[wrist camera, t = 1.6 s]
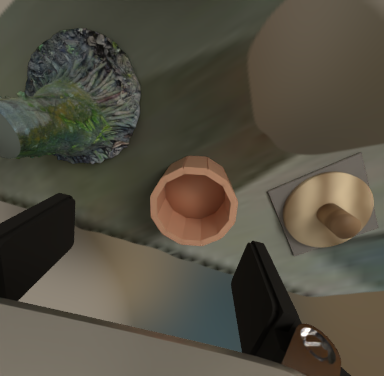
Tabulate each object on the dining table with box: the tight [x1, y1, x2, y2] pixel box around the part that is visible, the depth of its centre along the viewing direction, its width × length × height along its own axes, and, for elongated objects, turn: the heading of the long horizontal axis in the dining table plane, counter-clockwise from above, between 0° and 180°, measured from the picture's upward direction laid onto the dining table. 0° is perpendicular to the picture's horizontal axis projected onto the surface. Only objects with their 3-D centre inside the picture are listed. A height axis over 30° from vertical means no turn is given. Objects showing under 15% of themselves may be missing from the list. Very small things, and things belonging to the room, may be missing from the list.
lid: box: [283, 171, 374, 247], centre depth 33 cm, size 15×15×6 cm
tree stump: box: [0, 28, 141, 164], centre depth 27 cm, size 18×20×18 cm
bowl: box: [150, 156, 238, 246], centre depth 33 cm, size 13×13×8 cm
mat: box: [268, 152, 378, 256], centre depth 36 cm, size 16×16×1 cm
